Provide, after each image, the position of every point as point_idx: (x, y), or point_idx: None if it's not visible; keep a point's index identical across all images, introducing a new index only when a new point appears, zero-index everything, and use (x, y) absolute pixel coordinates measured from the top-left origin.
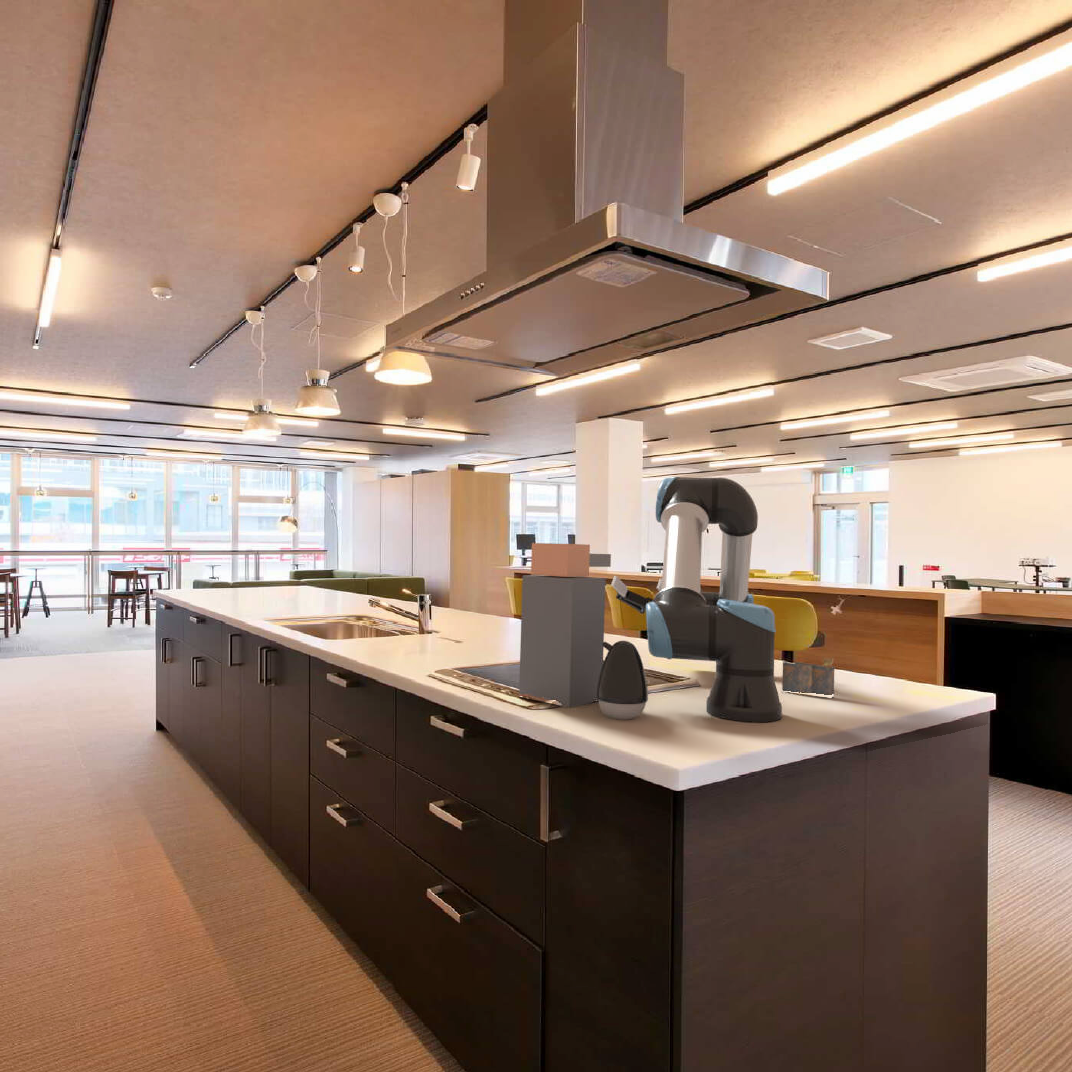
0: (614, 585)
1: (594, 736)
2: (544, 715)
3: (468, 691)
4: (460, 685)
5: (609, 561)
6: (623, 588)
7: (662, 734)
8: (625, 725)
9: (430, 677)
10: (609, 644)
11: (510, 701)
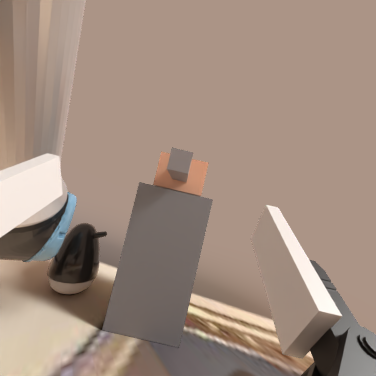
0: (253, 241)
1: None
2: None
3: (227, 313)
4: (256, 328)
5: (169, 160)
6: (282, 282)
7: (34, 266)
8: None
9: None
10: (99, 232)
11: None
